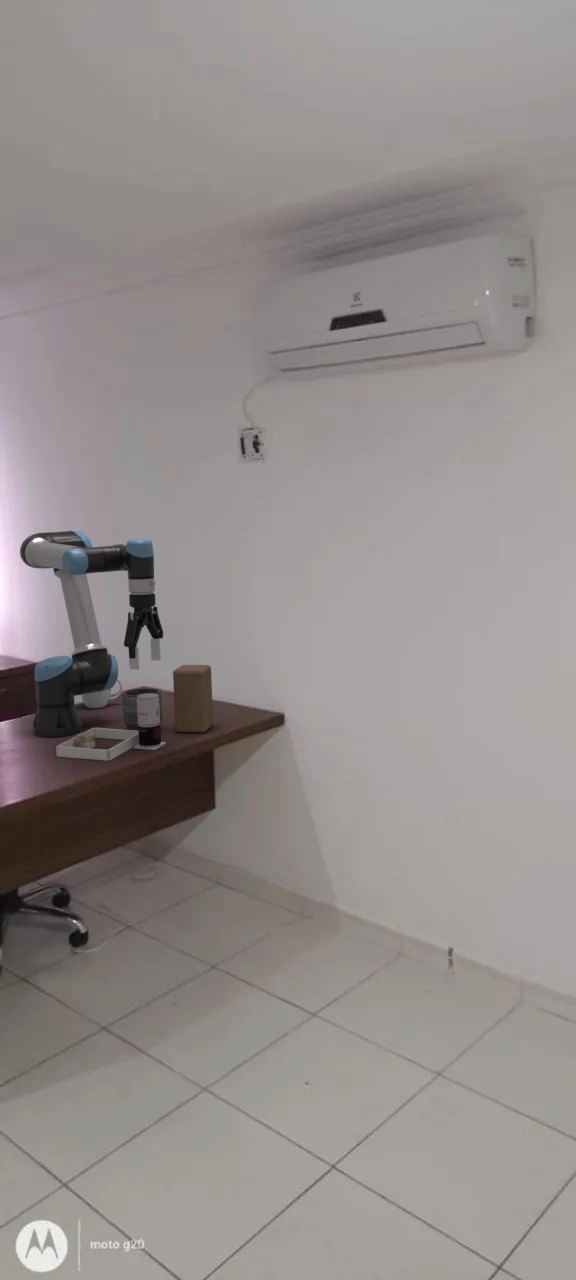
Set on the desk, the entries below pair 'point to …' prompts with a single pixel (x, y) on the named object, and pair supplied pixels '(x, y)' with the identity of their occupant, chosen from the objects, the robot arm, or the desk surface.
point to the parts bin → (99, 754)
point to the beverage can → (148, 720)
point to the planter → (131, 705)
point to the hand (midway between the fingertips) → (145, 664)
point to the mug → (99, 697)
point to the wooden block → (193, 698)
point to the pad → (150, 747)
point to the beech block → (85, 740)
